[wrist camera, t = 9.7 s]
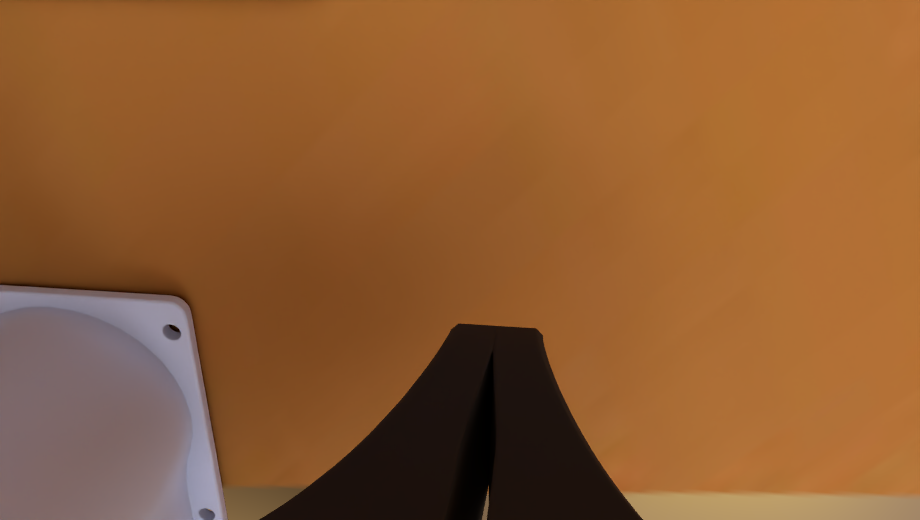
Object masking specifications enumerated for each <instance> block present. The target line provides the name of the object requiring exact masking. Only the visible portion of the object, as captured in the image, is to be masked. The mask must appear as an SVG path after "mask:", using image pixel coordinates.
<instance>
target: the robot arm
mask: <svg viewBox="0 0 920 520" xmlns="http://www.w3.org/2000/svg"><path fill="white" fill-rule="evenodd" d="M169 324H171V325H175V326H176V327H177V328H179V330H180V332H175V331H173V330H172V329H171V328H170V326H169ZM488 486H489V507H488V515H487V520H643V519H642V518H641V517H640V516H639V515H638V513H637V512H636V511H635V510H634V509H633V507H632V506H631V505H630V503H629V502H628V501H627V500H626V499H625V497H624V496H623V494H622V493H621V492H620V491H619V489H618V488H617V486H616V485H615V484H614V482H613V481H612V480H611V478H610V477H609V475H608V474H607V473H606V471H605V470H604V468H603V467H602V465H601V464H600V462H599V461H598V459H597V458H596V456H595V454H594V453H593V451H592V450H591V448H590V446H589V445H588V443H587V441H586V439H585V438H584V436H583V434H582V433H581V431H580V429H579V427H578V425H577V424H576V422H575V420H574V418H573V416H572V414H571V412H570V410H569V408H568V406H567V404H566V402H565V400H564V398H563V396H562V393H561V391H560V389H559V387H558V384H557V382H556V380H555V377H554V375H553V372H552V369H551V367H550V364H549V361H548V358H547V355H546V351H545V347H544V343H543V335H542V334H541V333H540V332H539V331H538V330H537V329H536V328H520V327H504V326H488V325H473V324H458V325H456V326H455V327H454V328H452V329H451V331H450V333H449V335H448V336H447V338H446V340H445V341H444V343H443V345H442V346H441V348H440V349H439V351H438V352H437V354H436V355H435V357H434V358H433V359H432V361H431V362H430V364H429V365H428V366H427V368H426V369H425V370H424V372H423V373H422V374H421V376H420V377H419V378H418V379H417V381H416V382H415V383H414V384H413V386H412V387H411V388H410V389H409V391H408V392H407V393H406V394H405V396H404V397H403V398H402V399H401V400H400V402H399V403H398V404H397V405H396V406H395V407H394V408H393V409H392V410H391V411H390V412H389V414H388V415H387V416H386V417H385V418H384V419H383V420H382V421H381V422H380V423H379V424H378V425H377V427H376V428H375V429H374V430H373V431H372V432H371V433H370V434H369V435H368V436H367V437H366V438H365V439H364V440H363V441H362V442H361V443H359V444H358V445H357V446H356V447H355V448H354V449H353V450H352V451H351V452H350V453H349V454H347V455H346V456H345V457H344V458H343V459H342V460H341V461H339V462H338V463H337V464H336V465H335V466H334V467H332V468H331V469H330V470H329V471H327V472H326V473H325V474H324V475H322V476H321V477H320V478H318V479H317V480H316V481H315V482H313V483H312V484H311V485H310V486H308V487H307V488H306V489H304V490H303V491H302V492H300V493H299V494H298V495H296V496H295V497H293V498H292V499H291V500H289V501H288V502H286V503H285V504H284V505H282V506H280V507H279V508H277V509H276V510H274V511H272V512H271V513H269V514H268V515H266V516H265V517H263V518H261V519H260V520H482V515H483V511H484V506H485V501H486V496H487V491H488ZM206 508H207V509H206ZM208 509H210V510H211V511H210V510H208ZM0 520H228V517H227V511H226V505H225V500H224V494H223V489H222V483H221V477H220V472H219V466H218V460H217V455H216V449H215V443H214V438H213V432H212V427H211V421H210V415H209V410H208V404H207V398H206V393H205V387H204V382H203V376H202V370H201V365H200V359H199V353H198V348H197V342H196V337H195V331H194V325H193V320H192V314H191V310H190V308H189V306H188V304H187V303H186V302H185V301H184V300H182V299H180V298H179V297H176V296H172V295H157V294H140V293H124V292H108V291H92V290H76V289H59V288H43V287H27V286H11V285H0Z"/></svg>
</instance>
